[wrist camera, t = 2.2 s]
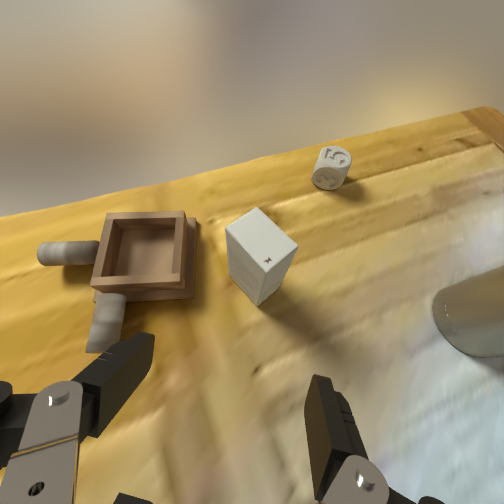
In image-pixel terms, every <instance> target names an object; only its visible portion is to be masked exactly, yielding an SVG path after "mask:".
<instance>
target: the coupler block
mask: <svg viewBox="0 0 504 504" xmlns="http://www.w3.org/2000/svg"><path fill="white" fill-rule="evenodd" d="M195 248H196V218H195V217H188V218H186V215H185V212H184V211H163V212H124V213H107V214H106V218H105V223H104V227H103V231H102V235H101V239H100V242H99V241H69V242H44V243H42V244H41V245H40V246H39V247H38V250H37V258H38V260H39V262H40V263H41V264H42V265H44V266H62V265H86V264H95V265H94V269H93V273H92V277H91V282H90V286H91V287H93V288H94V289H95V294H94V298H93V302H95V303H96V306H95V310H94V315H93V319H92V324H91V329H90V333H89V338H88V342H87V347H86V351H85V353H105V351H106V350H107V349H108V348H110V347H111V346H112V345H113V344H115V343H117V342H119V341H120V337H121V330H122V324H123V318H124V312H125V306H126V302H137V301H155V300H173V299H191V298H194V276H195Z"/></svg>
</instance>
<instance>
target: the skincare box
mask: <svg viewBox="0 0 504 504" xmlns="http://www.w3.org/2000/svg"><path fill="white" fill-rule="evenodd" d="M225 232H226V244H227V256H228V267H229V275H230V276H231V278H232V279H233V280H234V281H235V282H236V283H237V285H238V286H239V287H240V288H241V289H242V290H243V291H244V293H245V294H246V295H247V296H248V297H249V298H250V300H251V301H252V302H253V303H254V304H255V305H256V306H258V305H260V304H261V303H262V302H263V301H264V300H265V299H267V298H268V297H269V296H270V295H271V294H272V293H273V292H275V291H276V290H277V289H278V288H279V287H280V285H281V283H282V280H283V278H284V276H285V274H286V272H287V270H288V268H289V266H290V264H291V261H292V259H293V257H294V255H295V253H296V251H297V249H298V245H297V244H296V243H295V242H294V241H293V240H292V239H291V238H290V237H289V236H288V235H287V234H285V233H284V232H283V231H282V230H281V229H280V228H279V227H278V226H277V225H276V224H275V223H274V222H272V221H271V220H270V219H269V218H268V217H267V216H266V215H265V214H264V213H263V212H262V211H261V210H260V209H259V208H258V207H256V208H254V209H253V210H251V211H250V212H248V213H247V214H245V215H243V216H242V217H240V218H239V219H237V220H236V221H234V222H233V223H231V224H230V225H228V226H226V227H225Z"/></svg>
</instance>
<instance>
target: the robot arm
mask: <svg viewBox="0 0 504 504" xmlns="http://www.w3.org/2000/svg"><path fill="white" fill-rule="evenodd" d="M432 308H433V316H434V319H435V322H436V324H437V326H438V328H439V330H440V331H441V333H442V334H443V336H444V337H445V338H446V339H447V340H448V341H449V342H450V343H451V344H452V345H453V346H455V347H456V348H457V349H459V350H460V351H462V352H464V353H466V354H468V355H471V356H474V357H481V358H484V357H504V265H503V266H500V267H498V268H495V269H493V270H490V271H488V272H485V273H482V274H480V275H477V276H475V277H472V278H469V279H467V280H464V281H462V282H459V283H457V284H454V285H451V286H449V287H446V288H444V289H442V290H441V291H439V292H438V293H437V295H436V296H435V298H434V301H433V307H432ZM154 341H155V336H154V335H153V334H149V333H145V332H141V331H139V332H137V333H136V334H135V335H134V336H133V337H132V338H130V339H129V340H127V339H124V340H121V341H119V342H117V343H115V344H113V345H112V346H111V347H110V348H108V349H107V350H106V351H105V353H103V354H101V355H100V356H99V357H98V359H95V360H94V361H93V362H92V363H91V364H90V365H88V366H87V367H86V368H85V369H84V370H83V371H81V372H80V373H79V374H78V375H77V376H75V377H74V378H73V379H72V380H71V381H61V382H57V383H54V384H52V385H50V386H48V387H46V388H44V389H43V390H42V391H40V392H39V393H37V394H13V393H12V385H11V384H10V383H8V382H5V381H0V470H1V469H2V468H3V467H7V468H6V471H5V474H4V477H3V480H2V483H1V486H0V504H75V499H76V488H77V477H78V465H79V454H80V444H81V443H82V441H83V440H84V439H85V438H86V437H87V436H91V437H95V438H98V437H99V436H100V435H101V433H102V432H103V431H104V429H105V428H106V427H107V426H108V424H109V423H110V422H111V420H112V419H113V418H114V416H115V415H116V414H117V413H118V411H119V410H120V409H121V407H122V406H123V405H124V404H125V402H126V401H127V400H128V398H129V397H130V396H131V394H132V393H133V392H134V391H135V389H136V388H137V387H138V385H139V384H140V383H141V382H142V380H143V379H144V378H145V376H146V375H147V373H148V372H149V370H150V367H151V364H152V358H153V350H154ZM304 417H305V425H306V433H307V441H308V449H309V457H310V465H311V473H312V481H313V488H314V496H315V500H317V501H319V502H318V503H317V504H416V503H414V502H413V501H411V500H409V499H408V498H406V497H404V496H403V495H401V494H399V493H397V492H396V491H394V490H393V489H391V488H390V487H389V486H388V484H387V482H386V480H385V478H384V476H383V475H382V473H381V472H380V470H379V469H378V468H377V467H376V466H375V465H374V464H373V463H371V462H370V461H369V459H368V456H367V454H366V451H365V448H364V445H363V442H362V440H361V437H360V434H359V431H358V428H357V426H356V425H355V420H354V417H353V416H352V412H351V409H350V406H349V403H348V402H347V400H346V399H345V398H344V396H343V395H342V394H341V393H340V392H336V391H334V388H333V385H332V382H331V379H330V378H328V377H324V376H320V375H315V374H314V375H313V377H312V380H311V383H310V387H309V390H308V394H307V397H306V401H305V407H304ZM320 501H321V502H320ZM113 504H153V503H152V502H150V501H147V500H144V499H140V498H137V497H133V496H130V495H126V494H123V493H120V492H119V494H118V496H117V498H116V500H115V501H114V503H113ZM418 504H444V503H443V502H441V501H440V500H438V499H436V498H433V497H429V496H425V497H422V498H421V499H420V500H419V502H418Z"/></svg>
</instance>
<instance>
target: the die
mask: <svg viewBox="0 0 504 504" xmlns="http://www.w3.org/2000/svg"><path fill="white" fill-rule="evenodd" d="M351 162H352V158H351V156H350V154H349V153H348V152H347V151H346V150H345V149H343V148H341V147H338V146H328V147H325V148H323V149H321V152H320V154H319V157H318V160H317V162H316V165H315V168H314V170H313V173H312V176H311V180H312V181H313V183H314V184H315V185H316V186H318V187H319V188H321V189H325V190H333V189H337V188H339V187H340V186H341V185H342V183H343V181H344V179H345V177H346V175H347V173H348V170H349V168H350V165H351Z"/></svg>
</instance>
